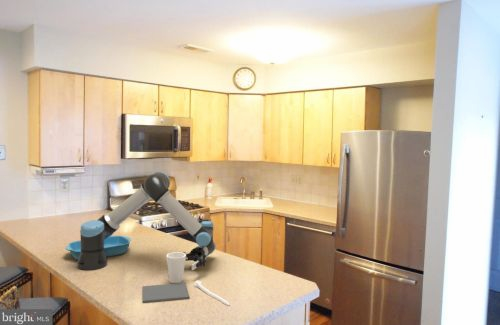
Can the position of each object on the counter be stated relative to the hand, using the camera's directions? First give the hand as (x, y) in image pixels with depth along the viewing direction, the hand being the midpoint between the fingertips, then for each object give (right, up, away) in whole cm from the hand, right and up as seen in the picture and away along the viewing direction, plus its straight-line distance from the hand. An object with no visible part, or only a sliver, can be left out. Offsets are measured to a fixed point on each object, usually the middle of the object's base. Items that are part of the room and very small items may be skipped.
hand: (180, 265), depth 193 cm
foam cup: (-2, -7, -2) cm, 8 cm away
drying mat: (-4, -8, -17) cm, 19 cm away
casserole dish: (-54, -3, +36) cm, 66 cm away
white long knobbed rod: (+18, -9, -16) cm, 26 cm away
